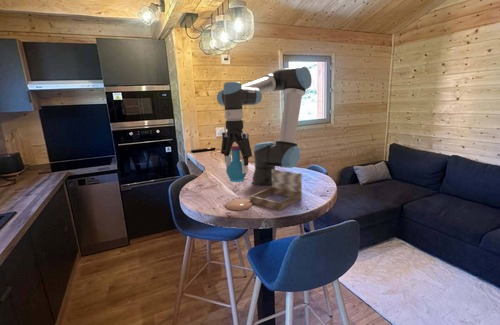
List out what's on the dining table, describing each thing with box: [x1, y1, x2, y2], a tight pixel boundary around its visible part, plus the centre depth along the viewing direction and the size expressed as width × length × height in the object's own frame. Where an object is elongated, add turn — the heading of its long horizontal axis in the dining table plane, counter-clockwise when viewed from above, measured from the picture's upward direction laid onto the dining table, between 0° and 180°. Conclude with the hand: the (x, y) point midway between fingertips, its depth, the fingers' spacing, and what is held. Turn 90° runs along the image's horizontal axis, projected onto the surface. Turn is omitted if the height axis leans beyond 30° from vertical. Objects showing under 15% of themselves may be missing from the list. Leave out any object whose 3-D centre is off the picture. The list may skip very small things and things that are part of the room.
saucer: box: [225, 198, 253, 212], centre depth 123 cm, size 12×12×1 cm
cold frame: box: [249, 168, 303, 211], centre depth 126 cm, size 17×18×12 cm
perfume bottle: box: [225, 145, 247, 183], centre depth 119 cm, size 9×9×15 cm
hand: (236, 171), depth 119 cm, fingers closed on perfume bottle, 9 cm apart
